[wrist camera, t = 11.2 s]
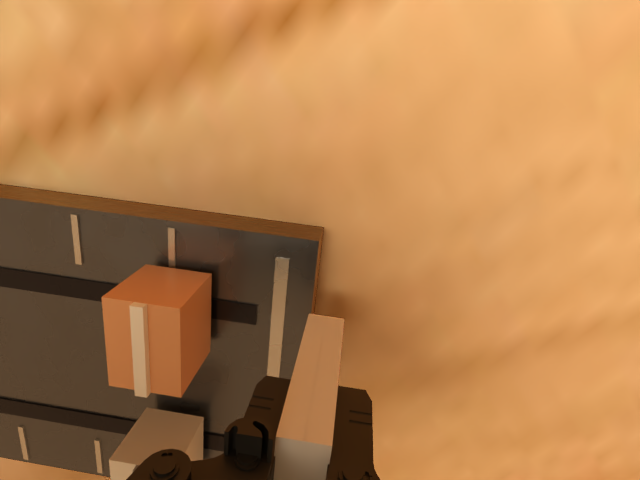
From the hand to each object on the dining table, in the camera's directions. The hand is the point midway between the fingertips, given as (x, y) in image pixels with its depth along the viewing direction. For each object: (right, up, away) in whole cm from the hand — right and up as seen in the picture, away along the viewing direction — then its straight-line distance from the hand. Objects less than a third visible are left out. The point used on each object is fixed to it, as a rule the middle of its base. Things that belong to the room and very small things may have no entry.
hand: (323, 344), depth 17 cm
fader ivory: (-8, -6, +4) cm, 11 cm away
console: (-12, -1, +5) cm, 13 cm away
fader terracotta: (-7, +1, +1) cm, 7 cm away
